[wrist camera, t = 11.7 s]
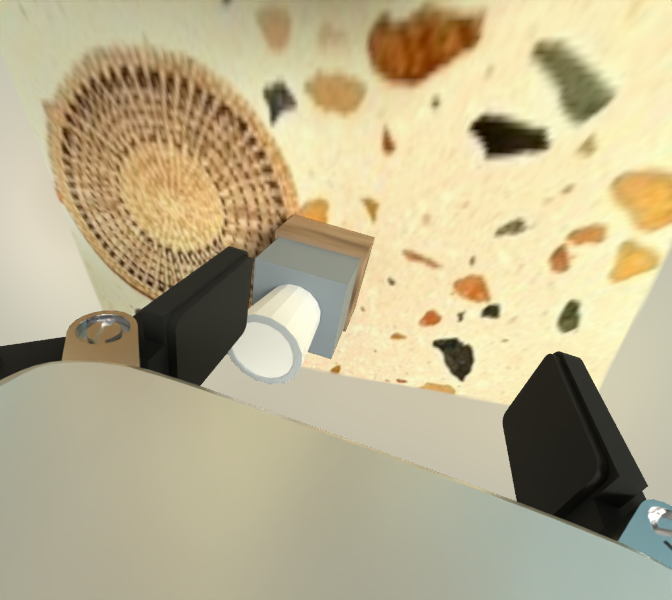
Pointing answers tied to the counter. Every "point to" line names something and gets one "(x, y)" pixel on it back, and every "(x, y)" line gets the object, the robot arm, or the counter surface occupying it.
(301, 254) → the slate top block
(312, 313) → the shot glass
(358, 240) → the walnut base block
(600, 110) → the counter surface
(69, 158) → the counter surface
